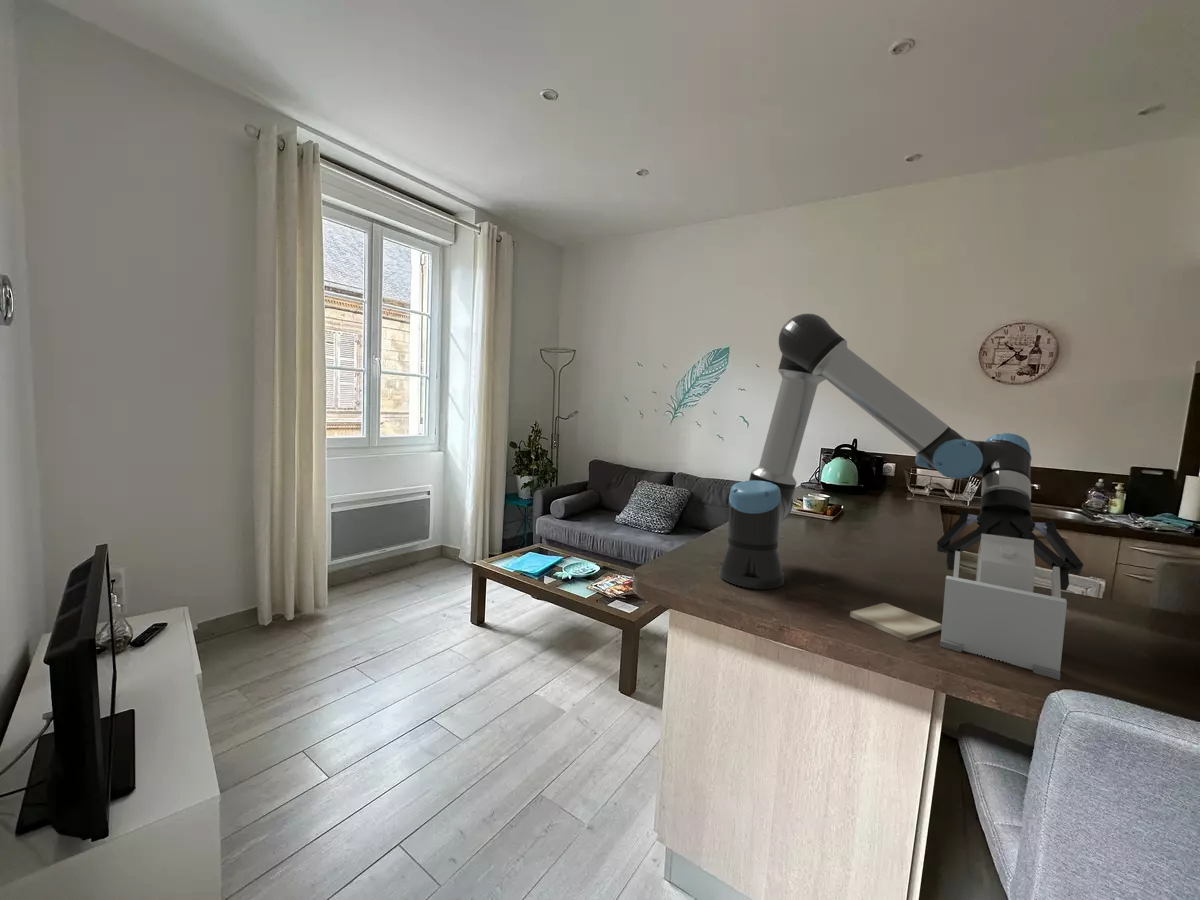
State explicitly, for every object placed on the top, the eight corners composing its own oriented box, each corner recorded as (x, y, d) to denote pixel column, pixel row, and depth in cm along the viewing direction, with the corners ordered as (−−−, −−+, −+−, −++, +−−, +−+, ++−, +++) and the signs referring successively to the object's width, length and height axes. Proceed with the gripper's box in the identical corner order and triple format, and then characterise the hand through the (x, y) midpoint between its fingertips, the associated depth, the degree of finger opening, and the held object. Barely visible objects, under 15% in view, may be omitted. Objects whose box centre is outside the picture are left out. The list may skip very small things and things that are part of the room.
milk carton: (971, 626, 89) (979, 529, 88) (1021, 637, 85) (1030, 536, 84) (974, 640, 83) (983, 537, 82) (1027, 653, 79) (1037, 544, 78)
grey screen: (939, 646, 81) (945, 579, 80) (942, 638, 84) (947, 574, 83) (1059, 680, 71) (1067, 604, 70) (1057, 669, 74) (1065, 597, 73)
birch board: (850, 616, 93) (850, 611, 92) (884, 607, 97) (884, 602, 97) (906, 641, 83) (907, 635, 83) (941, 629, 88) (942, 624, 88)
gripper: (1091, 519, 87) (1100, 624, 76) (929, 502, 102) (918, 587, 92) (1100, 495, 82) (1111, 603, 72) (929, 480, 98) (918, 567, 87)
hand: (1003, 594), depth 82 cm, fingers open, 13 cm apart
